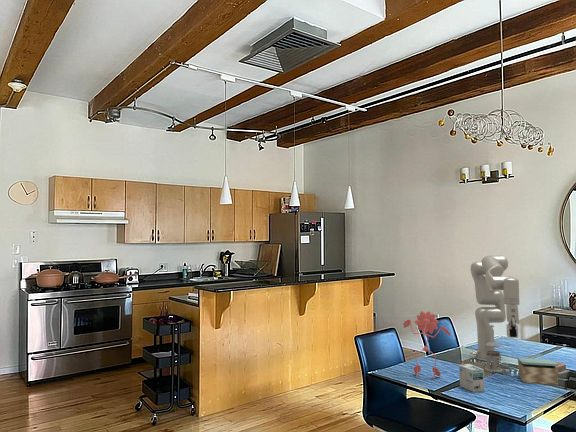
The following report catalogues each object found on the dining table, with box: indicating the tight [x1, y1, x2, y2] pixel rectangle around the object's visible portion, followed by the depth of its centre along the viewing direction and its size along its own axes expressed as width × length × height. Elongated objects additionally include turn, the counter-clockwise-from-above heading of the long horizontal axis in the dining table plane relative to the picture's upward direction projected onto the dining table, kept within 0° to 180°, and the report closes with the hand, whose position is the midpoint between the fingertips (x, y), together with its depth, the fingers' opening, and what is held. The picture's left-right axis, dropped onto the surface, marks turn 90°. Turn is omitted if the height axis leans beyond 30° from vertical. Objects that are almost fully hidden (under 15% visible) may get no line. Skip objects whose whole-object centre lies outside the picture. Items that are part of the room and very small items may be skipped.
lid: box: [517, 357, 558, 366], centre depth 240 cm, size 16×14×1 cm
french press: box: [483, 324, 504, 373], centre depth 260 cm, size 10×12×25 cm
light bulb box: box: [458, 363, 486, 393], centre depth 227 cm, size 11×7×11 cm, turn 17°
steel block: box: [506, 323, 519, 339], centre depth 242 cm, size 5×5×6 cm
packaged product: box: [554, 361, 571, 376], centre depth 253 cm, size 18×5×10 cm
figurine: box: [402, 310, 451, 380], centre depth 251 cm, size 15×26×35 cm, turn 59°
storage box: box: [517, 359, 559, 386], centre depth 240 cm, size 16×14×8 cm
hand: (512, 335), depth 242 cm, fingers closed on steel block, 5 cm apart
